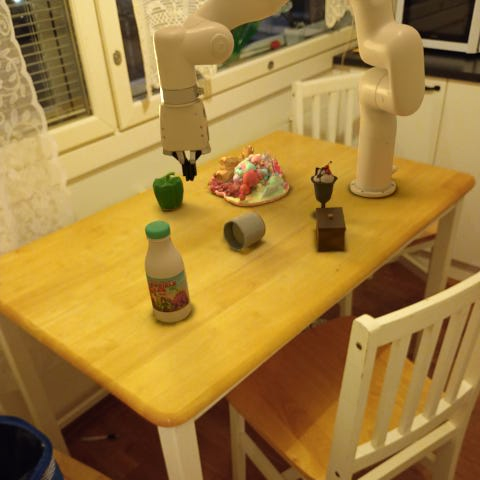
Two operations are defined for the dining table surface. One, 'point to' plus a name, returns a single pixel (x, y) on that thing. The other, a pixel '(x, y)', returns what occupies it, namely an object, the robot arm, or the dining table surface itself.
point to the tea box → (330, 229)
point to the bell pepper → (168, 191)
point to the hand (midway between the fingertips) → (190, 178)
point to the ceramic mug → (244, 230)
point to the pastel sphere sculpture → (249, 179)
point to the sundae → (323, 184)
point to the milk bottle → (166, 275)
